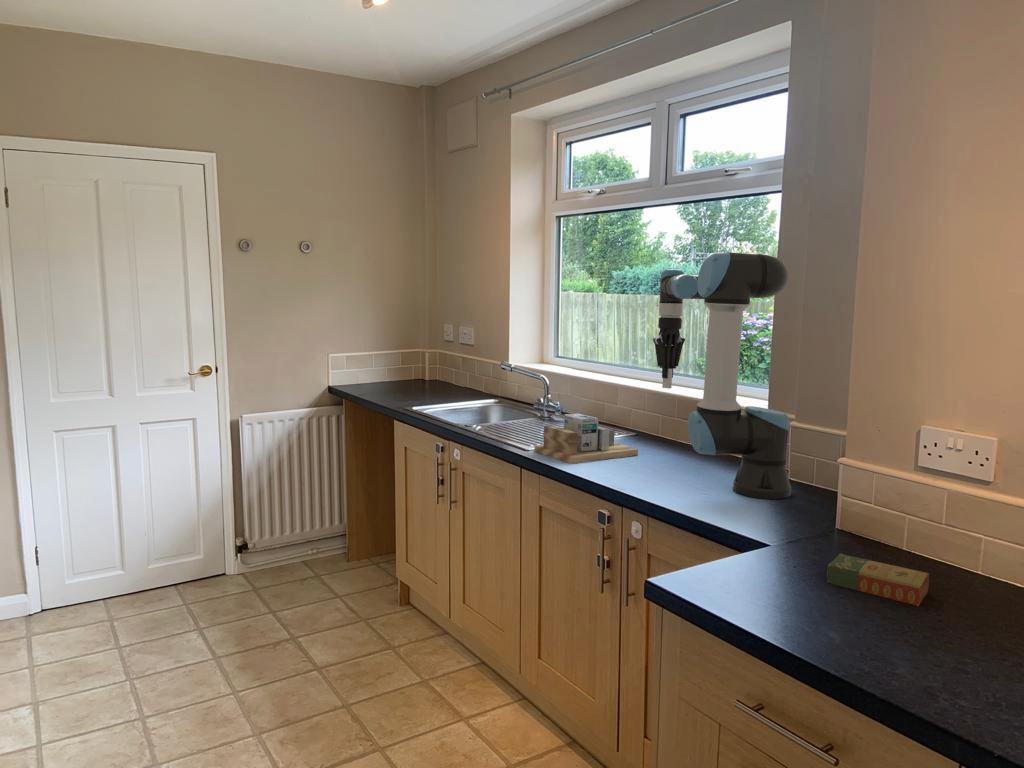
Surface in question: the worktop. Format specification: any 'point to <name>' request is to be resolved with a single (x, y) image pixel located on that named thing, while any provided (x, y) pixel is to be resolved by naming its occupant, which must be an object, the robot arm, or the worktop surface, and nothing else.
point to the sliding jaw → (605, 438)
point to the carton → (879, 579)
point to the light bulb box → (583, 430)
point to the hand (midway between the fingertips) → (666, 387)
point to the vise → (565, 447)
